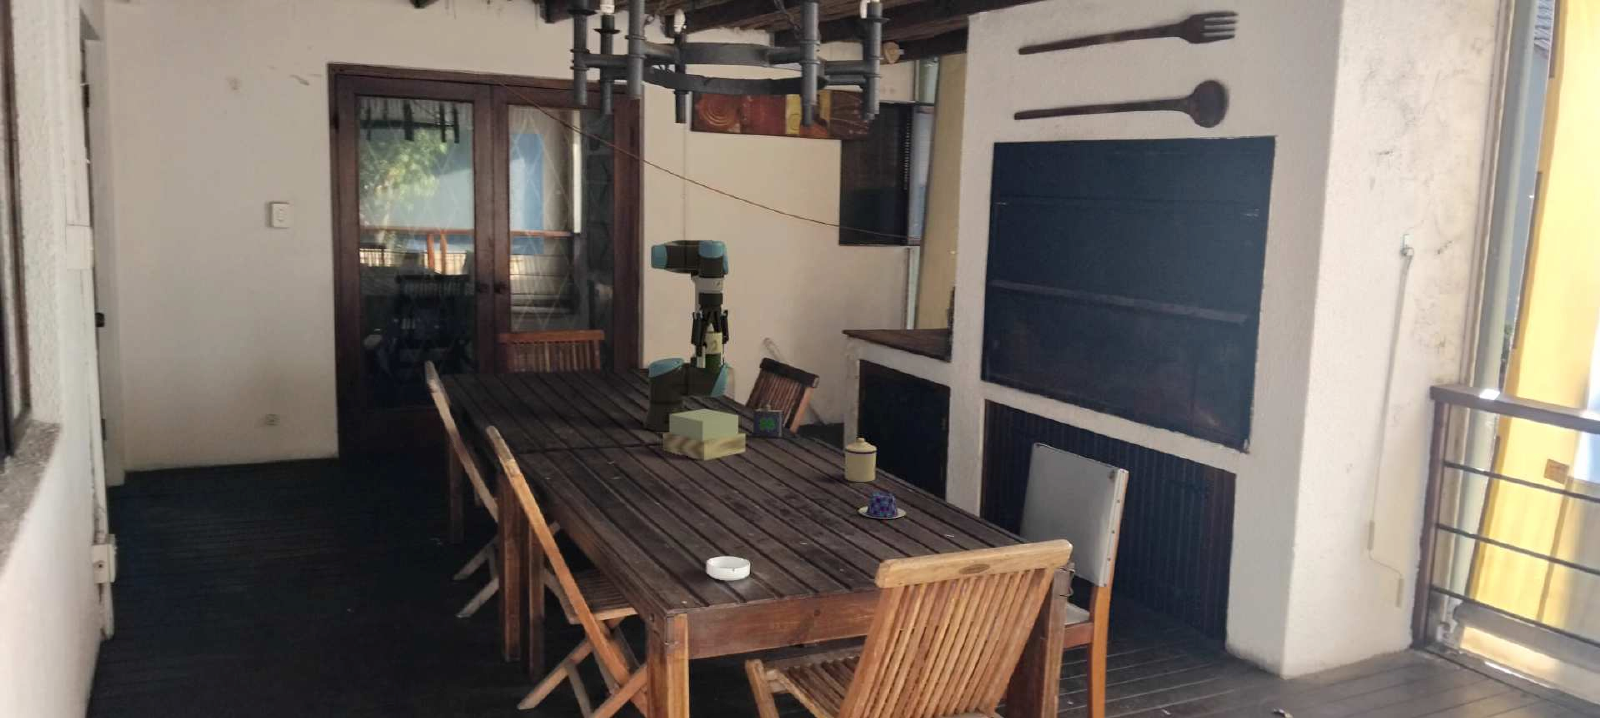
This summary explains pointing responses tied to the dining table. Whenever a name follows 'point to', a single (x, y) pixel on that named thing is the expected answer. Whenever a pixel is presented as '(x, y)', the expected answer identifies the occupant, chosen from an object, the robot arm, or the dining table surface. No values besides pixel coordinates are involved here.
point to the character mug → (712, 352)
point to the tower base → (704, 446)
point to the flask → (767, 423)
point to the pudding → (882, 507)
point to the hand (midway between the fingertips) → (709, 365)
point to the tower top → (703, 424)
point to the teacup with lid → (860, 461)
